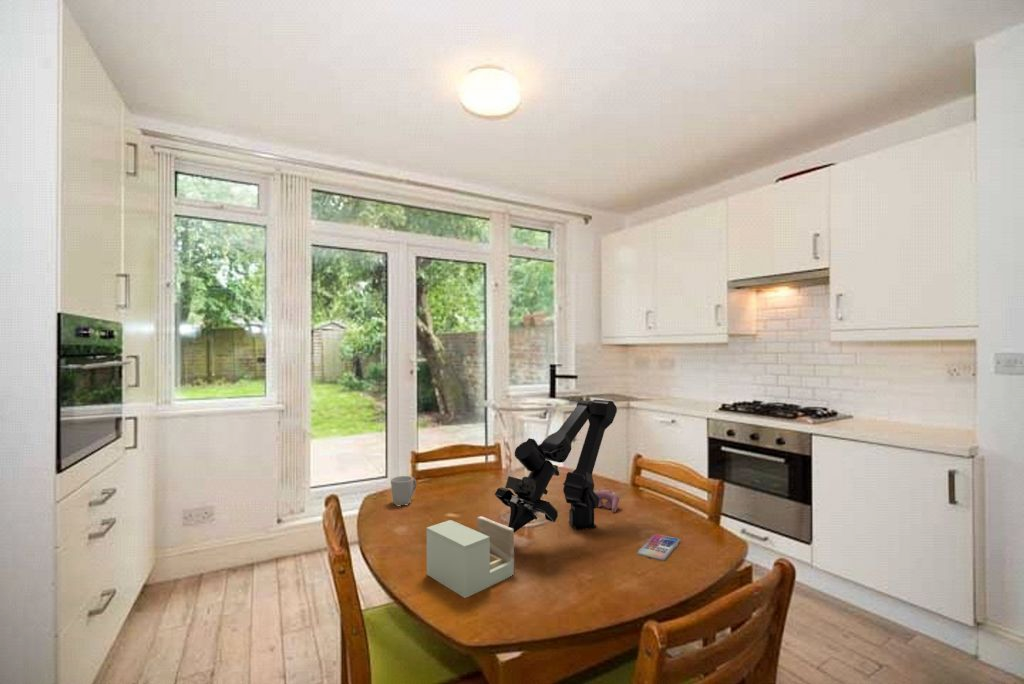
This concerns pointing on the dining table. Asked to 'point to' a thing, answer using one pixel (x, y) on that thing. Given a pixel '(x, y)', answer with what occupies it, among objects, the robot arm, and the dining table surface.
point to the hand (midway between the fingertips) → (509, 533)
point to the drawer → (498, 541)
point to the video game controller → (608, 495)
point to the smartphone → (659, 547)
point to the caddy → (462, 559)
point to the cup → (402, 489)
